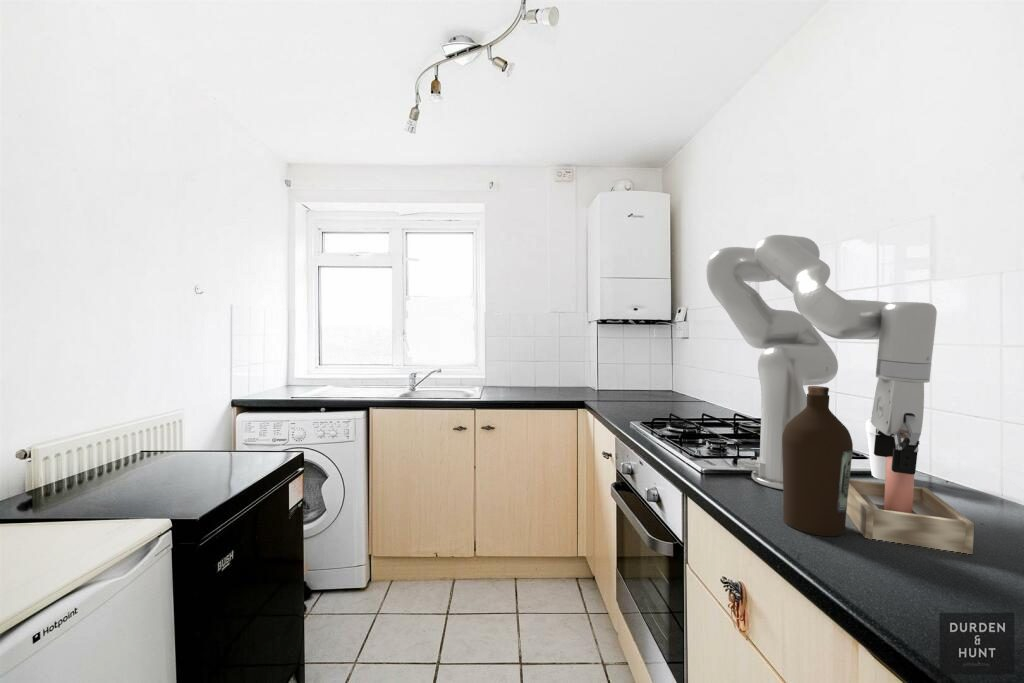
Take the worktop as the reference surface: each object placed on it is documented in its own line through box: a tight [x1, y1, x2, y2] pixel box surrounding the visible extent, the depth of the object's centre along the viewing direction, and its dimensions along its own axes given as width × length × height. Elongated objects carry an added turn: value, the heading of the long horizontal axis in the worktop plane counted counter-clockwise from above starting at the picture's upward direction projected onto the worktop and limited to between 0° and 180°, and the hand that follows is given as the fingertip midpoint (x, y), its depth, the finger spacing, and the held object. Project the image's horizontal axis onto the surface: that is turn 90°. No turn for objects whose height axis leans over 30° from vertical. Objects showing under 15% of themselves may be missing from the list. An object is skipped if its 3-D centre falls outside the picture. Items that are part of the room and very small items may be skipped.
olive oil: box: [782, 385, 854, 537], centre depth 85 cm, size 11×11×25 cm
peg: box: [884, 456, 915, 514], centre depth 86 cm, size 4×4×12 cm
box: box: [846, 478, 975, 555], centre depth 86 cm, size 14×18×5 cm
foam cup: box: [865, 419, 904, 481], centre depth 113 cm, size 10×9×13 cm
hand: (893, 464), depth 87 cm, fingers open, 9 cm apart
